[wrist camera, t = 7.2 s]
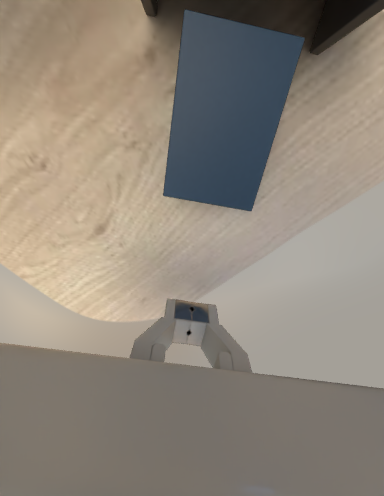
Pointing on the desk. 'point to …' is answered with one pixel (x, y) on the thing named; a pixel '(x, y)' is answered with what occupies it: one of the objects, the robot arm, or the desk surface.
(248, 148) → the box
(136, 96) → the desk surface
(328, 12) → the cabinet
